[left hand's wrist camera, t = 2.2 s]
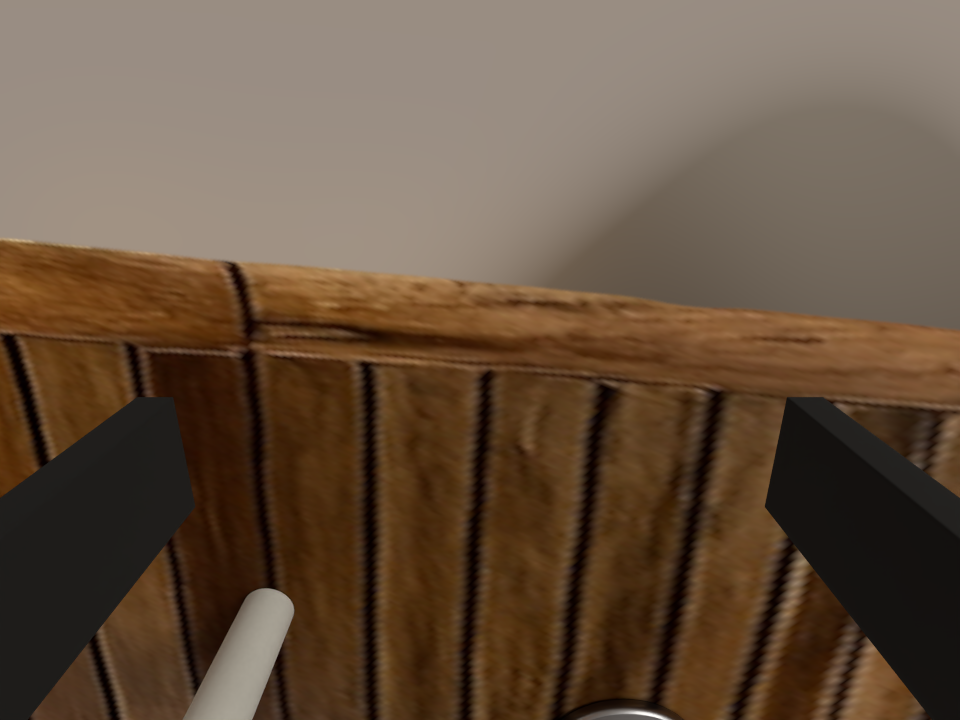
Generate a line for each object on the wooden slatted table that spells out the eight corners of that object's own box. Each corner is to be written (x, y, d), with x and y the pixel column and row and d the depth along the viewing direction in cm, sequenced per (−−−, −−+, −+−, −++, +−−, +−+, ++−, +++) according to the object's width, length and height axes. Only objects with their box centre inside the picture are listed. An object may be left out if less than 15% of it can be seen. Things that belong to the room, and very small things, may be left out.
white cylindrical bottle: (256, 632, 51) (153, 857, 35) (235, 594, 49) (117, 811, 33) (302, 620, 50) (219, 843, 34) (282, 582, 49) (185, 796, 33)
